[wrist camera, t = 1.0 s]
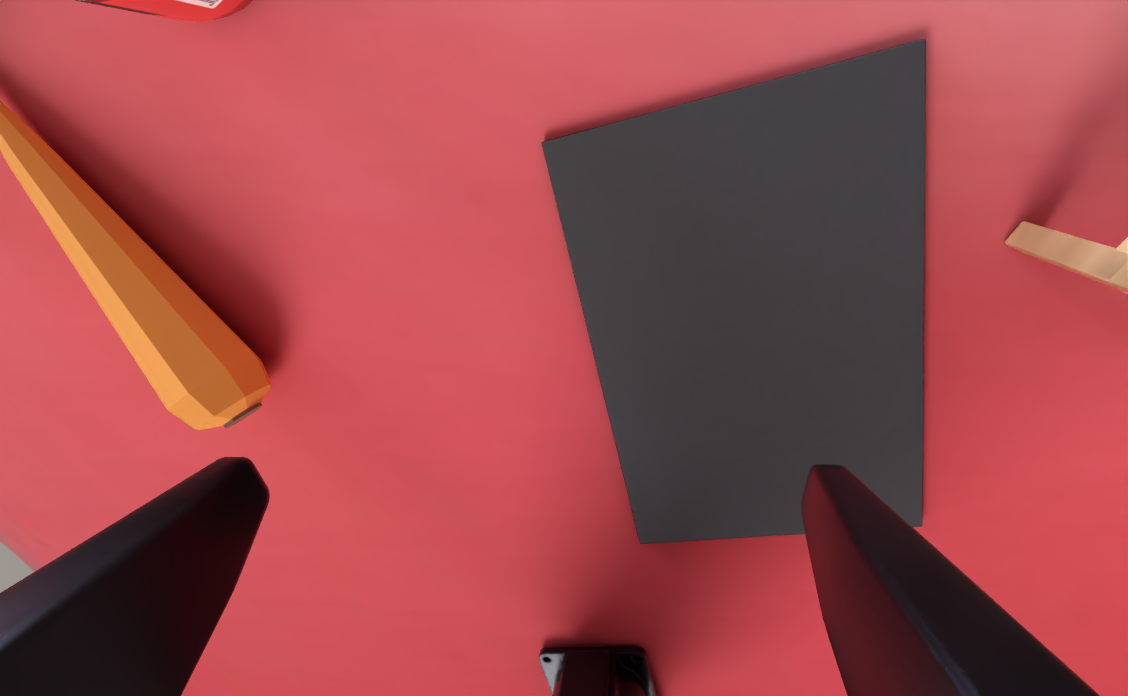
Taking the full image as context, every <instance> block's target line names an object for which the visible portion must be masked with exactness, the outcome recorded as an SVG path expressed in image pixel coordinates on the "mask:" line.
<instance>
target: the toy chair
mask: <svg viewBox="0 0 1128 696" xmlns="http://www.w3.org/2000/svg"><path fill="white" fill-rule="evenodd" d="M1004 243H1005V244H1006V245H1008V246H1010V247H1012V248H1014V249H1016V250H1018V251H1020V252H1022V253H1024V254H1027V255H1030V256H1032V257H1035V258H1037V259H1040V260H1043V261H1045V262H1048V263H1050V264H1053V265H1056V266H1058V267H1061V268H1064V269H1066V270H1069V271H1071V272H1074V273H1077V274H1079V275H1082V276H1084V277H1087V278H1090V279H1092V280H1095V281H1098V282H1100V283H1103V284H1105V285H1108V286H1111V287H1113V288H1116V289H1118V290H1120V291H1122V292H1124V293H1126V294H1128V237H1127V238H1126V239H1125V240H1124V241H1123V242H1122V243H1121V244H1120V245H1119V246H1118V247H1117V248H1114V247H1111V246H1107V245H1104V244H1101V243H1097V242H1094V241H1090V240H1087V239H1084V238H1080V237H1077V236H1073V235H1070V234H1066V233H1063V232H1060V231H1056V230H1053V229H1049V228H1046V227H1043V226H1039V225H1036V224H1032V223H1029V222H1026V221H1022V222H1021V223H1020V224H1019V226H1018V227H1017V228H1016V229H1015V230H1014V231H1013V233H1012V234H1011V235H1010V236H1009V237H1008V238H1007V240H1006V241H1005V242H1004Z"/></svg>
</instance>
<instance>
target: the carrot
mask: <svg viewBox="0 0 1128 696" xmlns="http://www.w3.org/2000/svg"><path fill="white" fill-rule="evenodd" d="M0 151H1V153H2V155H3V156H4V158H5V160H6V162H7V163H8V165H9V167H10V168H11V170H12V172H13V173H14V175H15V176H16V178H17V179H18V181H19V182H20V184H21V185H22V187H23V188H24V190H25V191H26V193H27V195H28V196H29V198H30V199H31V201H32V202H33V204H34V205H35V207H36V208H37V210H38V211H39V213H40V215H41V216H42V218H43V219H44V221H45V222H46V224H47V225H48V227H49V228H50V230H51V231H52V233H53V235H54V236H55V238H56V239H57V241H58V242H59V244H60V245H61V247H62V248H63V250H64V251H65V253H66V255H67V256H68V258H69V259H70V261H71V262H72V264H73V265H74V267H75V268H76V270H77V271H78V273H79V275H80V276H81V278H82V279H83V281H84V282H85V284H86V285H87V287H88V288H89V290H90V291H91V293H92V295H93V296H94V298H95V299H96V301H97V302H98V304H99V305H100V307H101V308H102V310H103V311H104V313H105V314H106V316H107V318H108V319H109V321H110V322H111V324H112V325H113V327H114V328H115V330H116V331H117V333H118V334H119V336H120V338H121V339H122V341H123V342H124V344H125V345H126V347H127V348H128V350H129V351H130V353H131V354H132V356H133V358H134V359H135V361H136V362H137V364H138V365H139V367H140V368H141V370H142V371H143V373H144V374H145V376H146V378H147V379H148V381H149V382H150V384H151V385H152V387H153V388H154V390H155V391H156V393H157V394H158V396H159V398H160V399H161V401H162V402H163V404H164V405H165V407H166V408H167V410H168V411H170V412H171V413H173V414H174V415H175V416H177V417H178V418H180V419H181V420H183V421H184V422H186V423H187V424H188V425H190V426H191V427H193V428H194V429H196V430H202V429H207V428H213V427H218V426H224V427H225V428H229V427H230V426H232V425H234V424H236V423H237V422H239V421H241V420H242V419H244V418H245V417H247V416H249V415H250V414H252V413H253V412H255V411H256V410H257V409H259V408H260V407H261V406H262V404H261V401H262V400H263V398H264V397H265V396H266V394H267V393H268V391H269V390H270V388H271V387H272V384H271V381H270V379H269V377H268V374H267V372H266V370H265V368H264V365H263V363H262V361H261V359H260V358H259V357H258V356H257V355H256V354H255V353H254V352H253V351H252V350H251V349H250V348H249V347H248V346H247V345H246V344H245V343H244V342H243V341H242V340H241V339H240V338H239V337H238V336H237V335H236V334H235V333H234V332H233V331H232V330H231V329H230V328H229V327H228V326H227V325H226V324H225V323H224V322H223V321H222V320H221V319H220V318H219V317H218V316H217V315H216V314H215V313H214V312H213V311H212V310H211V309H210V308H209V307H208V306H207V305H206V304H205V303H204V302H203V301H202V300H201V299H200V298H199V297H198V296H197V295H196V294H195V292H194V291H193V290H192V289H191V288H190V287H189V286H188V285H187V284H186V283H185V282H184V281H183V280H182V279H181V278H180V277H179V276H178V275H177V274H176V273H175V272H174V271H173V270H172V269H171V268H170V267H169V266H168V265H167V264H166V263H165V262H164V261H163V260H162V259H161V258H160V257H159V256H158V255H157V254H156V253H155V252H154V251H153V250H152V249H151V248H150V247H149V246H148V245H147V244H146V243H145V242H144V241H143V240H142V239H141V238H140V237H139V236H138V235H137V234H136V233H135V232H134V231H133V230H132V229H131V228H130V227H129V226H128V225H127V224H126V223H125V222H124V221H123V220H122V219H121V218H120V217H119V216H118V215H117V214H116V213H115V212H114V211H113V210H112V209H111V208H110V206H109V205H108V204H107V203H106V202H105V201H104V200H103V199H102V198H101V197H100V196H99V195H98V194H97V193H96V192H95V191H94V190H93V189H92V188H91V187H90V186H89V185H88V184H87V183H86V182H85V181H84V180H83V179H82V178H81V177H80V176H79V175H78V174H77V173H76V172H75V171H74V170H73V169H72V168H71V167H70V166H69V165H68V164H67V163H66V162H65V161H64V160H63V159H62V158H61V157H60V156H59V155H58V154H57V153H56V152H55V151H54V150H53V149H52V148H51V147H50V146H49V145H47V144H46V143H45V142H44V141H43V140H42V139H41V138H40V137H39V136H38V135H37V134H36V133H34V132H33V131H32V130H31V129H30V128H29V127H28V126H27V125H26V124H25V123H24V122H23V121H22V120H20V119H19V118H18V117H17V116H16V115H15V114H14V113H13V112H12V111H11V110H10V109H9V108H8V107H6V106H5V105H4V104H3V103H2V102H1V101H0Z"/></svg>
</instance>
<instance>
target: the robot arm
mask: <svg viewBox="0 0 1128 696" xmlns="http://www.w3.org/2000/svg"><path fill="white" fill-rule="evenodd" d="M268 503H269V489H268V487H267V485H266V484H265V482H264V480H263V479H262V477H261V475H260V474H259V472H258V470H257V469H256V467H255V465H254V464H253V462H252V461H251V460H250V459H248V458H245V457H224V458H221V459H218V460H216V461H215V462H213V463H212V464H210V465H208V466H207V467H205V468H203V469H202V470H200V471H199V472H197V473H195V474H194V475H192V476H190V477H189V478H187V479H185V480H184V481H182V482H181V483H179V484H177V485H176V486H174V487H172V488H171V489H169V490H168V491H166V492H164V493H163V494H161V495H159V496H158V497H156V498H155V499H153V500H151V501H150V502H148V503H146V504H145V505H143V506H141V507H140V508H138V509H137V510H135V511H133V512H132V513H130V514H128V515H127V516H125V517H124V518H122V519H120V520H119V521H117V522H115V523H114V524H112V525H110V526H109V527H107V528H106V529H104V530H102V531H101V532H99V533H97V534H96V535H94V536H93V537H91V538H89V539H88V540H86V541H84V542H83V543H81V544H80V545H78V546H76V547H75V548H73V549H71V550H70V551H68V552H66V553H65V554H63V555H62V556H60V557H58V558H57V559H55V560H53V561H52V562H50V563H49V564H47V565H45V566H44V567H42V568H40V569H39V570H37V571H35V572H34V573H32V574H31V575H29V576H27V577H26V578H24V579H23V580H21V581H19V582H18V583H16V584H14V585H13V586H11V587H9V588H8V589H6V590H5V591H3V592H1V593H0V696H181V694H182V692H183V690H184V689H185V687H186V685H187V683H188V681H189V679H190V677H191V675H192V673H193V671H194V669H195V667H196V665H197V663H198V661H199V659H200V657H201V655H202V653H203V651H204V649H205V647H206V645H207V643H208V641H209V639H210V637H211V635H212V633H213V631H214V629H215V627H216V625H217V623H218V621H219V619H220V617H221V615H222V613H223V611H224V609H225V607H226V605H227V603H228V601H229V599H230V597H231V595H232V593H233V591H234V588H235V586H236V584H237V581H238V579H239V577H240V574H241V572H242V569H243V567H244V564H245V561H246V559H247V556H248V554H249V551H250V549H251V546H252V544H253V541H254V539H255V536H256V534H257V531H258V529H259V526H260V523H261V521H262V518H263V516H264V513H265V511H266V508H267V506H268ZM801 513H802V519H803V524H804V529H805V534H806V539H807V544H808V549H809V554H810V559H811V564H812V568H813V573H814V578H815V583H816V588H817V593H818V598H819V602H820V607H821V611H822V616H823V620H824V623H825V626H826V630H827V633H828V637H829V640H830V643H831V646H832V649H833V652H834V655H835V658H836V661H837V665H838V668H839V671H840V674H841V677H842V680H843V683H844V686H845V689H846V692H847V695H848V696H1100V695H1099V694H1097V693H1096V692H1095V691H1094V690H1093V689H1092V688H1091V687H1090V686H1088V685H1087V684H1086V683H1085V682H1084V681H1083V680H1082V679H1081V678H1080V677H1078V676H1077V675H1076V674H1075V673H1074V672H1073V671H1072V670H1071V669H1070V668H1068V667H1067V666H1066V665H1065V664H1064V663H1063V662H1062V661H1061V660H1060V659H1058V658H1057V657H1056V656H1055V655H1054V654H1053V653H1052V652H1051V651H1050V650H1048V649H1047V648H1046V647H1045V646H1044V645H1043V644H1042V643H1041V642H1040V641H1038V640H1037V639H1036V638H1035V637H1034V636H1033V635H1032V634H1031V633H1029V632H1028V631H1027V630H1026V629H1025V628H1024V627H1023V626H1022V625H1021V624H1019V623H1018V622H1017V621H1016V620H1015V619H1014V618H1013V617H1012V616H1011V615H1009V614H1008V613H1007V612H1006V611H1005V610H1004V609H1003V608H1002V607H1001V606H999V605H998V604H997V603H996V602H995V601H994V600H993V599H992V598H991V597H989V596H988V595H987V594H986V593H985V592H984V591H983V590H982V589H981V588H979V587H978V586H977V585H976V584H975V583H974V582H973V581H972V580H971V579H969V578H968V577H967V576H966V575H965V574H964V573H963V572H962V571H960V570H959V569H958V568H957V567H956V566H955V565H954V564H953V563H952V562H950V561H949V560H948V559H947V558H946V557H945V556H944V555H943V554H942V553H940V552H939V551H938V550H937V549H936V548H935V547H934V546H933V545H932V544H930V543H929V542H928V541H927V540H926V539H925V538H924V537H923V536H922V535H920V534H919V533H918V532H917V531H916V530H915V529H914V528H913V527H912V526H910V525H909V524H908V523H907V522H906V521H905V520H904V519H903V518H902V517H900V516H899V515H898V514H897V513H896V512H895V511H894V510H893V509H891V508H890V507H889V506H888V505H887V504H886V503H885V502H884V501H883V500H881V499H880V498H879V497H878V496H877V495H876V494H875V493H874V492H873V491H871V490H870V489H869V488H868V487H867V486H866V485H865V484H864V483H863V482H861V481H860V480H859V479H858V478H857V477H856V476H855V475H854V474H853V473H851V472H850V471H849V470H848V469H847V468H845V467H844V466H842V465H835V464H816V465H813V466H812V467H811V468H810V471H809V474H808V478H807V482H806V485H805V489H804V493H803V497H802V501H801ZM539 660H540V663H541V666H542V668H543V671H544V674H545V676H546V679H547V682H548V684H549V687H550V690H551V692H552V696H657V693H656V689H655V685H654V682H653V678H652V674H651V671H650V667H649V663H648V659H647V656H646V652H645V650H643V649H642V648H640V647H568V648H543V649H541V651H540V655H539Z"/></svg>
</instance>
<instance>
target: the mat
mask: <svg viewBox="0 0 1128 696" xmlns="http://www.w3.org/2000/svg"><path fill="white" fill-rule="evenodd" d="M925 91H926V39H922V40H918V41H915V42H911V43H907V44H903V45H900V46H896V47H892V48H889V49H885V50H881V51H878V52H874V53H870V54H866V55H863V56H859V57H855V58H852V59H848V60H844V61H841V62H837V63H833V64H829V65H826V66H822V67H818V68H815V69H811V70H807V71H803V72H800V73H796V74H792V75H789V76H785V77H781V78H778V79H774V80H770V81H766V82H763V83H759V84H755V85H752V86H748V87H744V88H741V89H737V90H733V91H729V92H726V93H722V94H718V95H715V96H711V97H707V98H704V99H700V100H696V101H692V102H689V103H685V104H681V105H678V106H674V107H670V108H667V109H663V110H659V111H655V112H652V113H648V114H644V115H641V116H637V117H633V118H630V119H626V120H622V121H618V122H615V123H611V124H607V125H604V126H600V127H596V128H593V129H589V130H585V131H581V132H578V133H574V134H570V135H567V136H563V137H559V138H556V139H552V140H548V141H544V142H542V147H543V151H544V155H545V159H546V163H547V167H548V171H549V175H550V179H551V183H552V187H553V191H554V195H555V199H556V203H557V208H558V212H559V216H560V220H561V224H562V228H563V232H564V236H565V240H566V244H567V248H568V252H569V256H570V260H571V264H572V268H573V273H574V277H575V281H576V285H577V289H578V293H579V297H580V301H581V305H582V309H583V313H584V317H585V321H586V325H587V329H588V333H589V338H590V342H591V346H592V350H593V354H594V358H595V362H596V366H597V370H598V374H599V378H600V382H601V386H602V390H603V394H604V399H605V403H606V407H607V411H608V415H609V419H610V423H611V427H612V431H613V435H614V439H615V443H616V447H617V451H618V455H619V459H620V464H621V468H622V472H623V476H624V480H625V484H626V488H627V492H628V496H629V500H630V504H631V508H632V512H633V516H634V520H635V524H636V529H637V533H638V537H639V541H640V544H647V543H663V542H679V541H695V540H711V539H727V538H743V537H760V536H776V535H792V534H805V529H804V524H803V519H802V513H801V501H802V497H803V493H804V489H805V485H806V482H807V478H808V474H809V471H810V468H811V467H812V466H813V465H816V464H835V465H842V466H844V467H845V468H847V469H848V470H849V471H850V472H851V473H853V474H854V475H855V476H856V477H857V478H858V479H859V480H860V481H861V482H863V483H864V484H865V485H866V486H867V487H868V488H869V489H870V490H871V491H873V492H874V493H875V494H876V495H877V496H878V497H879V498H880V499H881V500H883V501H884V502H885V503H886V504H887V505H888V506H889V507H890V508H891V509H893V510H894V511H895V512H896V513H897V514H898V515H899V516H900V517H902V518H903V519H904V520H905V521H906V522H907V523H908V524H909V525H910V526H912V527H921V526H922V493H923V359H924V225H925Z"/></svg>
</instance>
